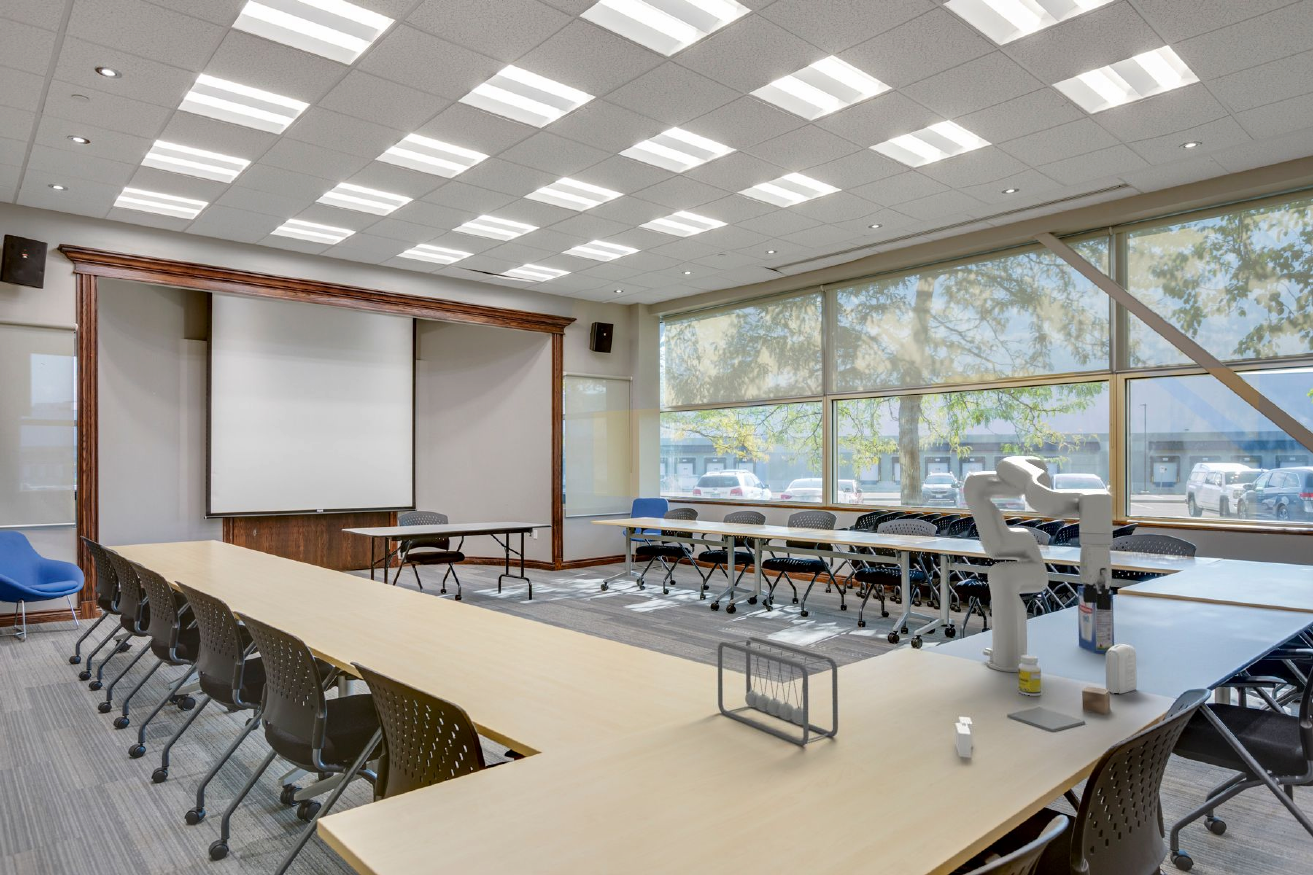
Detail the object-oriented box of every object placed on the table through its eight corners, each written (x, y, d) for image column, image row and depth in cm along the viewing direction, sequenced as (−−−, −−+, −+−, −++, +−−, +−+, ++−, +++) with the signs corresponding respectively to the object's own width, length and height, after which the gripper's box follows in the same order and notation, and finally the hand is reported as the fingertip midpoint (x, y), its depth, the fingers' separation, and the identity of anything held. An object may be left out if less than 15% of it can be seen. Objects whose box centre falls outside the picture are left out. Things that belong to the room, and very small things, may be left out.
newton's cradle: (839, 738, 173) (838, 658, 174) (806, 748, 167) (805, 665, 168) (748, 704, 198) (748, 634, 198) (717, 712, 192) (716, 640, 192)
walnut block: (1082, 710, 193) (1082, 690, 193) (1087, 705, 196) (1087, 686, 197) (1105, 714, 189) (1104, 694, 190) (1110, 710, 193) (1109, 689, 193)
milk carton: (1114, 652, 251) (1113, 590, 251) (1095, 652, 251) (1093, 590, 252) (1097, 645, 261) (1096, 586, 261) (1078, 645, 261) (1077, 586, 262)
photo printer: (1122, 685, 214) (1121, 640, 214) (1139, 689, 210) (1138, 643, 211) (1103, 691, 208) (1102, 645, 209) (1120, 695, 205) (1119, 648, 205)
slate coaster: (1007, 716, 188) (1007, 714, 188) (1039, 709, 193) (1039, 706, 193) (1052, 731, 177) (1052, 729, 177) (1085, 723, 183) (1085, 720, 183)
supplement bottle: (1014, 690, 209) (1014, 654, 210) (1033, 690, 210) (1033, 653, 210) (1026, 696, 204) (1025, 659, 204) (1045, 696, 204) (1044, 658, 205)
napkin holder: (971, 765, 159) (971, 737, 159) (923, 749, 168) (923, 722, 168) (1011, 749, 168) (1010, 722, 168) (963, 735, 177) (963, 709, 177)
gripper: (1069, 536, 210) (1070, 599, 210) (1091, 543, 193) (1092, 611, 193) (1099, 536, 209) (1100, 600, 208) (1124, 543, 192) (1125, 613, 191)
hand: (1096, 605), depth 201 cm, fingers open, 9 cm apart
